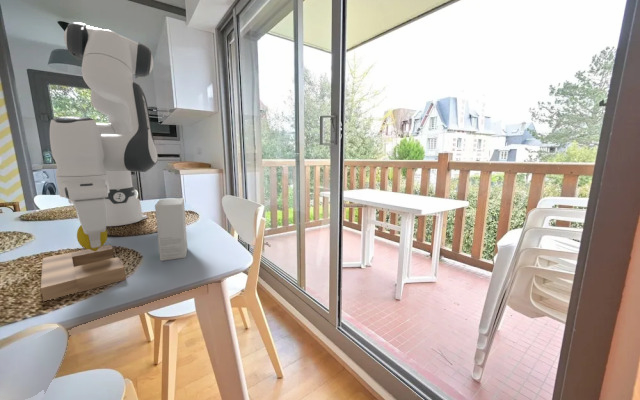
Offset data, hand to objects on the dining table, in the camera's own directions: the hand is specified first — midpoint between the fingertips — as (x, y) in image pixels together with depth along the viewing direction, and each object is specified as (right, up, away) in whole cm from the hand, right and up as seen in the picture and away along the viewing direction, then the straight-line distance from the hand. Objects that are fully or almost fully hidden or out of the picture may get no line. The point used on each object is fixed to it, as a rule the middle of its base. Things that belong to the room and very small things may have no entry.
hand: (94, 243), depth 63 cm
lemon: (0, -2, 0) cm, 2 cm away
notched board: (-1, -7, -2) cm, 7 cm away
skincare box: (+14, -5, +10) cm, 18 cm away
